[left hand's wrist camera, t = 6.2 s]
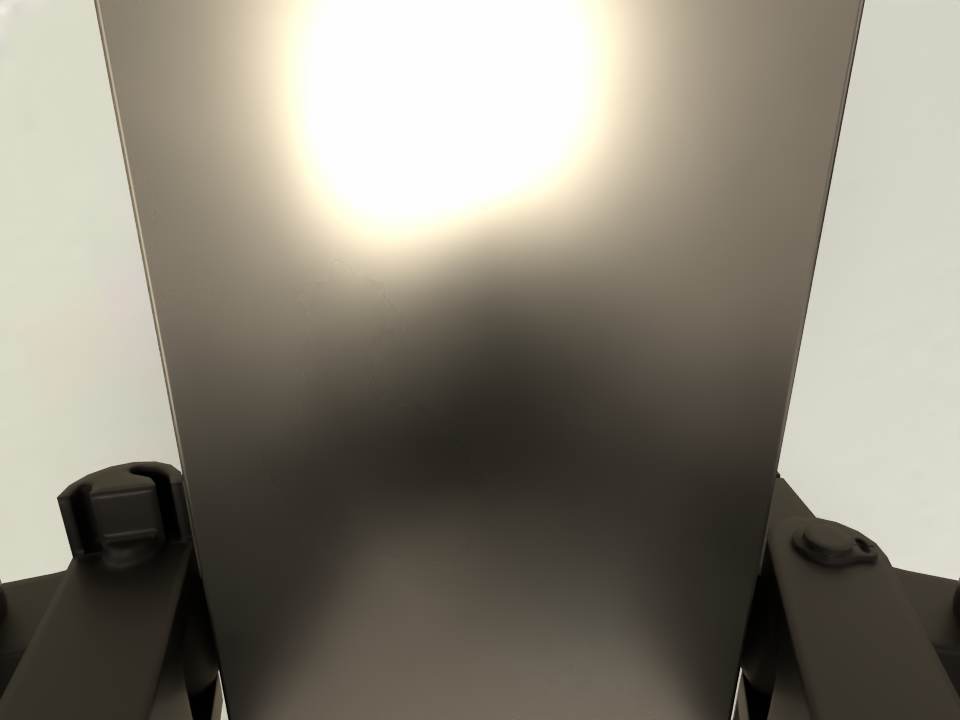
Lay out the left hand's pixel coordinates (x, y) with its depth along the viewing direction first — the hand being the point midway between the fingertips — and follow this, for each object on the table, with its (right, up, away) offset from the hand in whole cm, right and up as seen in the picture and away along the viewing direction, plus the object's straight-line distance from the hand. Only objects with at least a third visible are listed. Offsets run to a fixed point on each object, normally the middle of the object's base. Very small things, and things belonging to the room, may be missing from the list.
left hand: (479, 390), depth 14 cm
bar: (0, +7, -2) cm, 8 cm away
